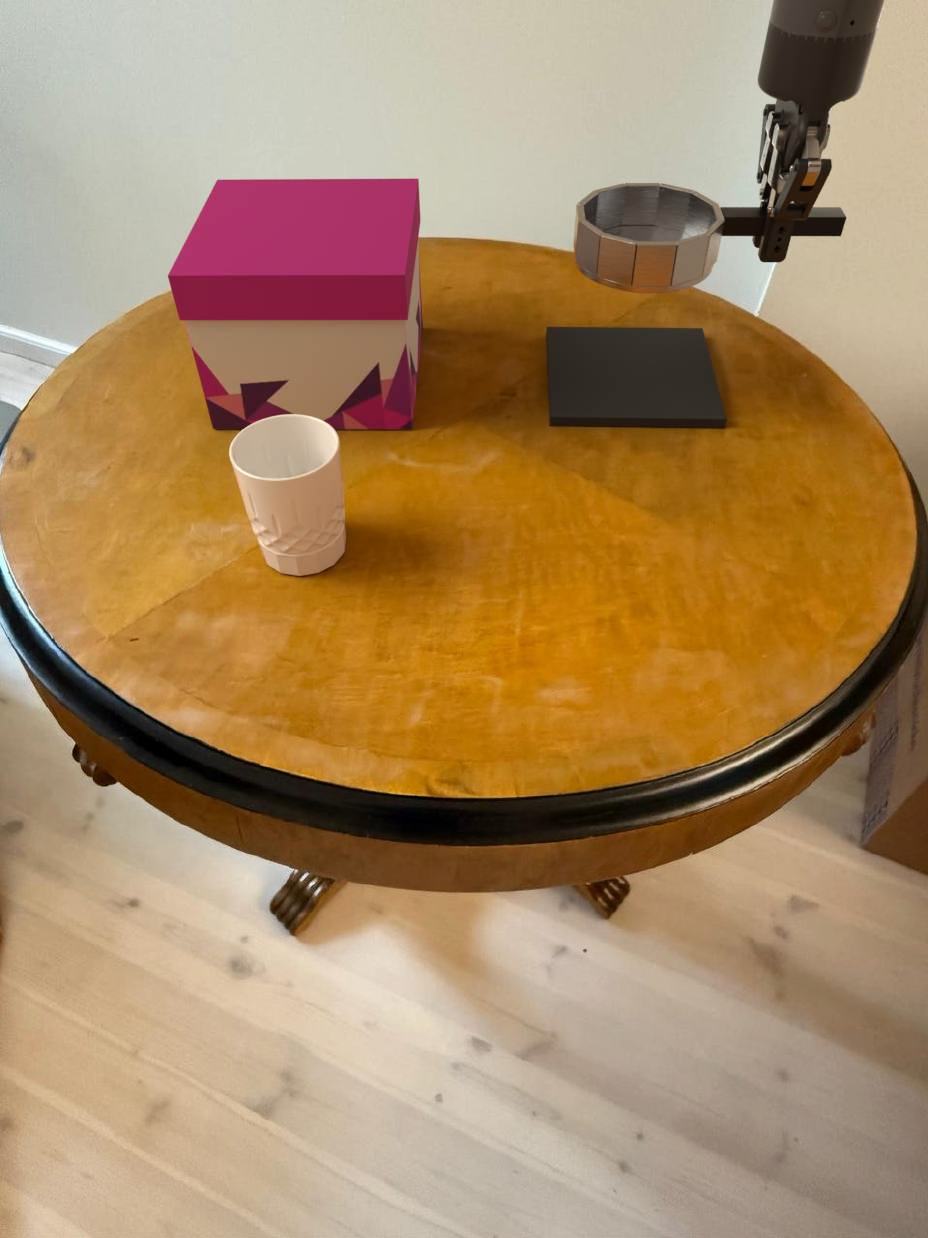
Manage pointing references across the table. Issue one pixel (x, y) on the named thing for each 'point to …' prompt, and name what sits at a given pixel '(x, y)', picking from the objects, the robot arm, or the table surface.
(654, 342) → the trivet
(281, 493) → the white cup
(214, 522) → the table surface
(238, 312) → the decorative box
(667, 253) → the steel pan
